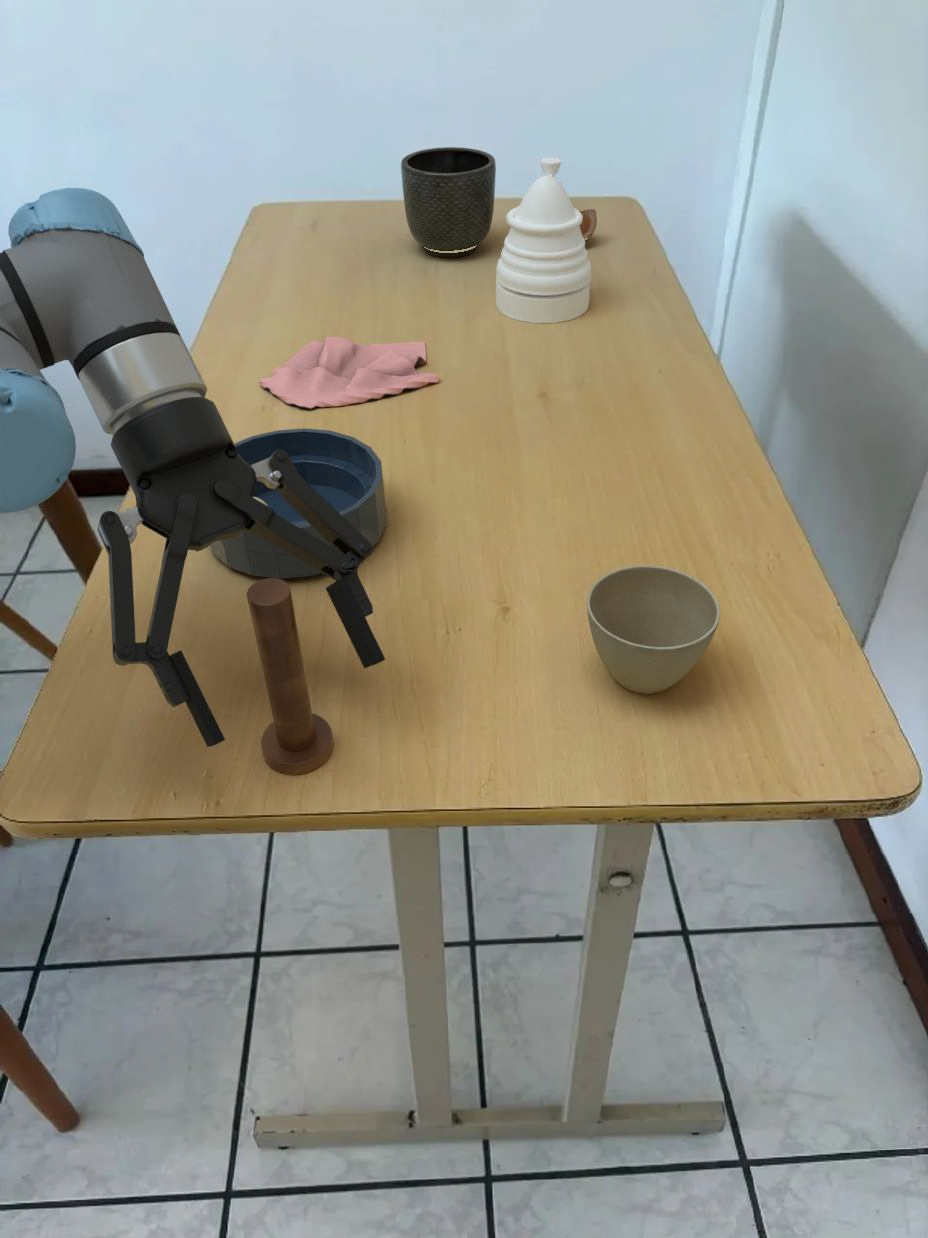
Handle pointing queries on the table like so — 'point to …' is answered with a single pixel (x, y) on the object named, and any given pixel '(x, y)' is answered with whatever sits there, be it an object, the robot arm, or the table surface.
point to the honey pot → (544, 256)
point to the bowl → (329, 468)
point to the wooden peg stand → (286, 683)
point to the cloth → (348, 373)
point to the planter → (449, 198)
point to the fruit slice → (588, 223)
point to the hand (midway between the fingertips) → (299, 702)
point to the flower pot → (651, 625)
